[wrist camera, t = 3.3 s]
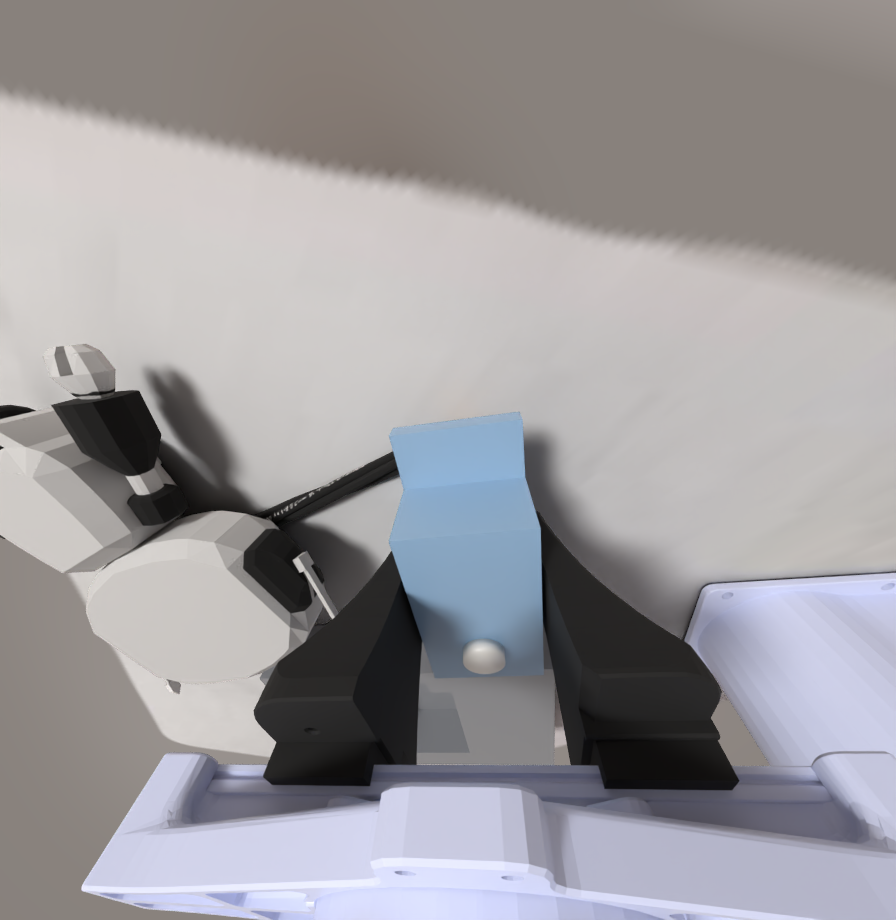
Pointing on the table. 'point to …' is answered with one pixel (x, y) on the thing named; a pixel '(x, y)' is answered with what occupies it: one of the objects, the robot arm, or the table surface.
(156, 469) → the robot toy
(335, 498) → the electrical cable
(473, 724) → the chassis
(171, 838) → the robot arm
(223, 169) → the table surface
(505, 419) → the block
